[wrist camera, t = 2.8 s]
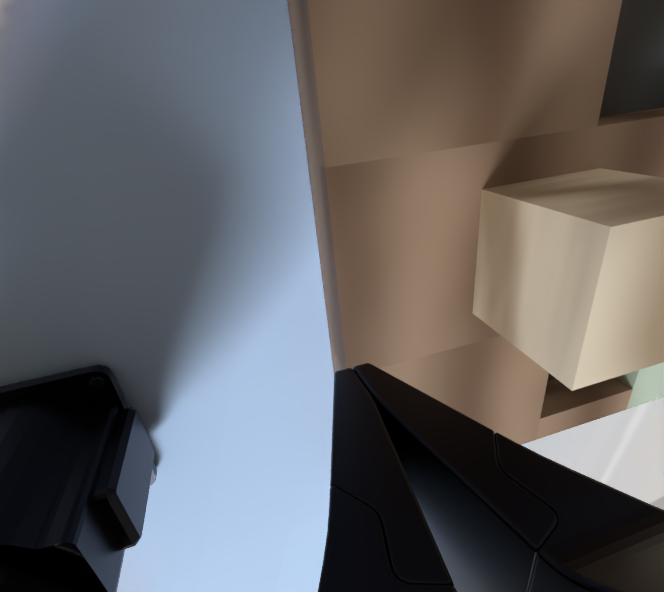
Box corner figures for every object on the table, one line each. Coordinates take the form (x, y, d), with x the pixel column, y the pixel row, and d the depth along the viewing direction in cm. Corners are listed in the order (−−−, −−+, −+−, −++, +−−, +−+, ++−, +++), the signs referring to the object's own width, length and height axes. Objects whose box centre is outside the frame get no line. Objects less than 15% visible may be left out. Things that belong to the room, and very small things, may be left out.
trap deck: (344, 458, 21) (360, 498, 19) (271, -133, 10) (286, -197, 8) (699, 348, 26) (744, 369, 24) (893, -129, 15) (1006, -168, 13)
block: (472, 313, 16) (571, 391, 11) (481, 189, 13) (611, 227, 9) (574, 287, 17) (702, 350, 12) (600, 168, 14) (767, 193, 10)
